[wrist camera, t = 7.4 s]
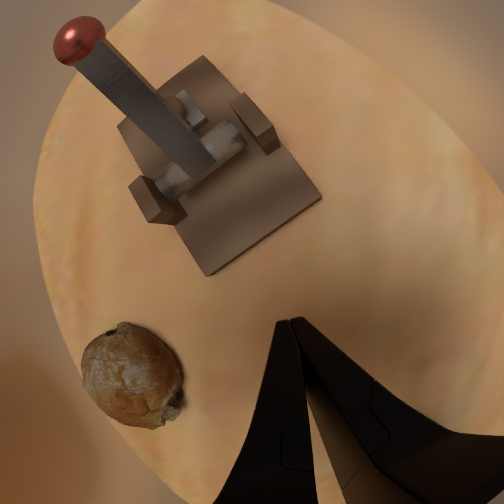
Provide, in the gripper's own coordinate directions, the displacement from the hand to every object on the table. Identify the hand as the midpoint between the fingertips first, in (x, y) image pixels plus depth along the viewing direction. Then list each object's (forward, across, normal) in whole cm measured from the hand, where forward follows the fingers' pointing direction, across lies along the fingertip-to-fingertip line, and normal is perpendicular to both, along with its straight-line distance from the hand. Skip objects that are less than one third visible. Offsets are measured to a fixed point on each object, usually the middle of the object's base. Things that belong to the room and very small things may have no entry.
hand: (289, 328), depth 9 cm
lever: (+13, +2, -3) cm, 14 cm away
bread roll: (+10, +12, +14) cm, 22 cm away
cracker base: (+17, +3, -3) cm, 17 cm away
